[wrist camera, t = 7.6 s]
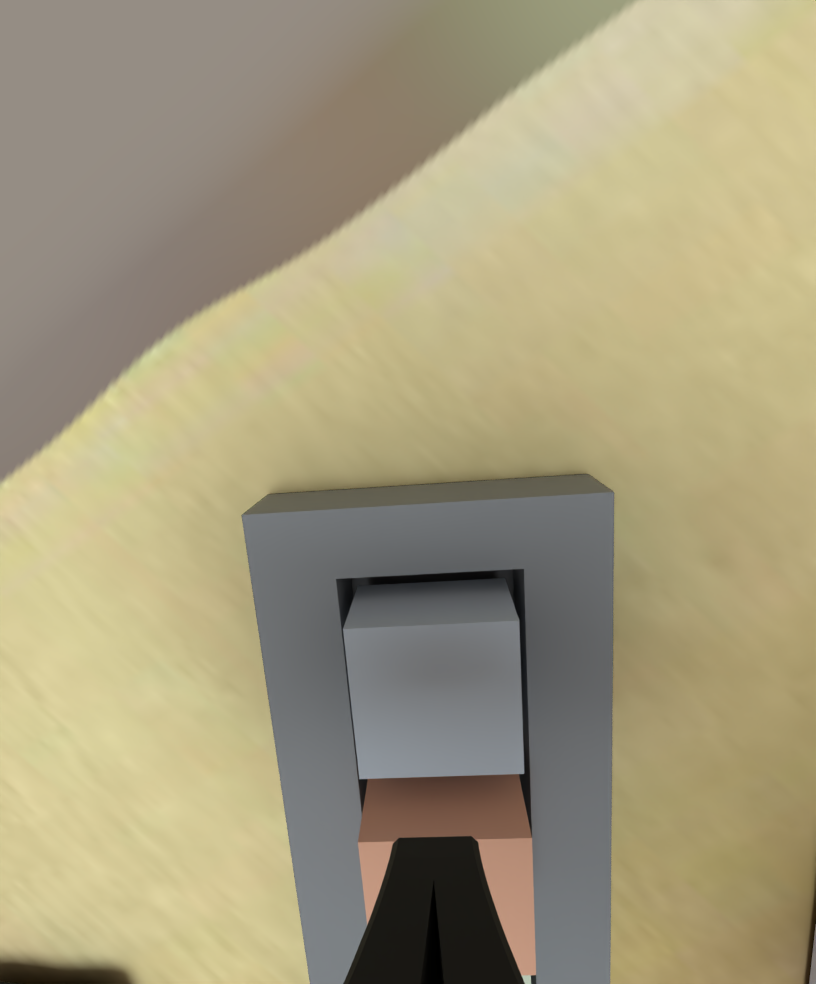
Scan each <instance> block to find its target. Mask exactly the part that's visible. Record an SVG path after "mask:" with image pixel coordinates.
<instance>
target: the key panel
mask: <svg viewBox="0 0 816 984" xmlns="http://www.w3.org/2000/svg"><path fill="white" fill-rule="evenodd" d="M242 521H243V528H244V535H245V542H246V549H247V555H248V562H249V569H250V576H251V583H252V590H253V596H254V603H255V610H256V617H257V624H258V631H259V637H260V644H261V651H262V658H263V665H264V672H265V679H266V685H267V692H268V699H269V706H270V713H271V720H272V726H273V733H274V740H275V747H276V754H277V761H278V768H279V774H280V781H281V788H282V795H283V802H284V809H285V815H286V822H287V829H288V836H289V843H290V850H291V856H292V863H293V870H294V877H295V884H296V891H297V898H298V904H299V911H300V918H301V925H302V932H303V939H304V945H305V952H306V959H307V966H308V973H309V980H310V984H343V983H344V981H345V979H346V976H347V974H348V972H349V969H350V967H351V964H352V962H353V959H354V957H355V954H356V952H357V949H358V947H359V944H360V942H361V939H362V937H363V934H364V932H365V929H366V927H367V919H366V910H365V901H364V892H363V884H362V875H361V866H360V857H359V848H358V838H359V832H360V826H361V819H362V813H363V807H364V800H365V794H366V788H367V781H368V779H359V770H358V761H357V752H356V743H355V734H354V725H353V715H352V706H351V697H350V688H349V679H348V670H347V661H346V651H345V642H344V633H343V628H344V625H345V622H346V619H347V616H348V613H349V610H350V607H351V604H352V602H353V599H354V596H355V593H356V590H357V587H358V586H364V585H383V584H402V583H421V582H440V581H458V580H477V579H496V578H505V580H506V583H507V586H508V589H509V592H510V595H511V598H512V600H513V603H514V606H515V609H516V612H517V615H518V618H519V627H520V658H521V688H522V719H523V750H524V774H519V778H520V783H521V788H522V792H523V797H524V802H525V807H526V812H527V816H528V821H529V826H530V831H531V835H532V853H533V887H534V920H535V954H536V975H531V984H610V940H611V815H612V690H613V566H614V492H613V491H612V490H610V489H609V488H608V487H606V486H605V485H603V484H602V483H600V482H599V481H598V480H596V479H595V478H593V477H592V476H590V475H589V474H578V475H563V476H547V477H531V478H515V479H500V480H484V481H468V482H452V483H437V484H421V485H405V486H390V487H374V488H358V489H342V490H327V491H311V492H295V493H279V494H268V495H267V496H265V497H264V498H263V499H261V500H260V501H259V502H258V503H256V504H255V505H254V506H252V507H251V508H250V509H249V510H247V511H246V512H245V513H244V514H242Z"/></svg>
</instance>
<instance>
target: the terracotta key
mask: <svg viewBox="0 0 816 984" xmlns="http://www.w3.org/2000/svg"><path fill="white" fill-rule="evenodd" d="M452 836H472V837H473V838H474V839H475V840H476V841H478V844H479V851H480V856H481V860H482V864H483V869H484V872H485V876H486V880H487V883H488V886H489V890H490V893H491V896H492V899H493V902H494V905H495V908H496V911H497V914H498V917H499V919H500V922H501V925H502V928H503V930H504V933H505V936H506V938H507V941H508V943H509V946H510V948H511V951H512V953H513V956H514V958H515V961H516V963H517V966H518V968H519V970H520V973H521V975H536V954H535V920H534V887H533V853H532V835H531V831H530V826H529V821H528V816H527V812H526V807H525V802H524V797H523V792H522V788H521V783H520V778H519V774H505V775H473V776H441V777H410V778H378V779H368V781H367V788H366V794H365V800H364V807H363V813H362V819H361V826H360V832H359V838H358V848H359V857H360V866H361V875H362V884H363V892H364V901H365V910H366V919H367V924H368V922H369V919H370V916H371V914H372V911H373V908H374V905H375V902H376V900H377V897H378V894H379V891H380V888H381V885H382V882H383V879H384V876H385V872H386V869H387V865H388V862H389V858H390V854H391V850H392V845H393V843H394V842H395V841H396V840H397V839H398V838H410V837H452Z"/></svg>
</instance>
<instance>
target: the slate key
mask: <svg viewBox="0 0 816 984" xmlns="http://www.w3.org/2000/svg"><path fill="white" fill-rule="evenodd" d="M343 633H344V642H345V651H346V661H347V670H348V679H349V688H350V697H351V706H352V715H353V725H354V734H355V743H356V752H357V761H358V770H359V779H378V778H410V777H441V776H473V775H505V774H524V750H523V719H522V688H521V658H520V627H519V618H518V615H517V612H516V609H515V606H514V603H513V600H512V598H511V595H510V592H509V589H508V586H507V583H506V580H505V578H496V579H477V580H458V581H440V582H421V583H402V584H383V585H364V586H358V587H357V590H356V593H355V596H354V599H353V602H352V604H351V607H350V610H349V613H348V616H347V619H346V622H345V625H344V628H343Z"/></svg>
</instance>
